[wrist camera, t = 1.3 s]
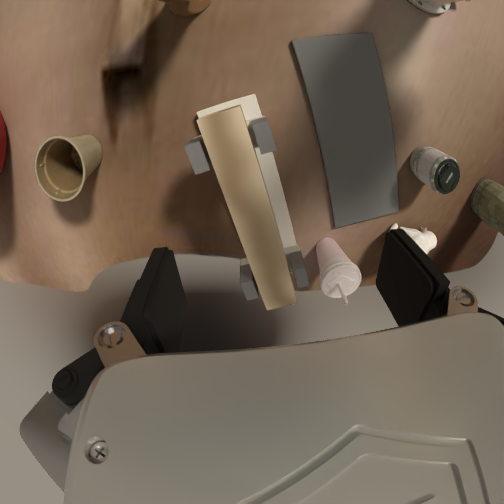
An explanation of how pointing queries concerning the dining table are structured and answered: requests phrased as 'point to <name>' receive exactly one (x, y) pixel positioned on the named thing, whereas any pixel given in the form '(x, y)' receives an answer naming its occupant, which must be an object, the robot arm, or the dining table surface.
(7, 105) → the dining table surface
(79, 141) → the flower pot
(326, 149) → the mat
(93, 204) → the dining table surface
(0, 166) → the mixing bowl
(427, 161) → the camera lens
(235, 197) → the rail
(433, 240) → the white animal figurine
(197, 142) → the hook stand
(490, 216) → the thermos
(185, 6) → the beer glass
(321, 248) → the smoothie
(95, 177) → the dining table surface
